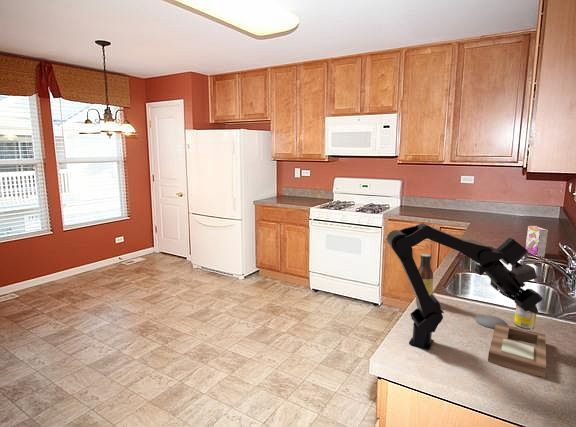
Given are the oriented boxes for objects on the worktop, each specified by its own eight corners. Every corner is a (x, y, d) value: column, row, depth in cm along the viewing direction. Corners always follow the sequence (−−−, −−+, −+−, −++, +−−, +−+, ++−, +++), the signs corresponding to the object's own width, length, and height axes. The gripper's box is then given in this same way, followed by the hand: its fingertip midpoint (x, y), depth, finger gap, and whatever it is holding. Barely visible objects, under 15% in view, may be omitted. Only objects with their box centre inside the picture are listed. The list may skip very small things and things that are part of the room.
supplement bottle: (525, 323, 118) (529, 293, 116) (538, 331, 113) (543, 301, 111) (509, 323, 118) (513, 294, 116) (521, 332, 112) (526, 301, 110)
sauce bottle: (434, 300, 150) (438, 254, 146) (428, 305, 145) (432, 258, 141) (419, 296, 154) (422, 251, 150) (412, 300, 150) (415, 255, 146)
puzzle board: (544, 378, 100) (546, 366, 99) (487, 361, 108) (488, 350, 107) (544, 343, 118) (545, 332, 117) (495, 330, 126) (496, 321, 125)
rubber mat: (505, 331, 125) (505, 330, 125) (473, 323, 130) (473, 322, 130) (507, 320, 133) (507, 319, 133) (477, 313, 138) (477, 312, 138)
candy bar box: (524, 252, 219) (527, 225, 216) (532, 252, 219) (535, 225, 215) (536, 257, 208) (540, 230, 205) (545, 257, 208) (549, 230, 204)
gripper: (540, 267, 102) (574, 305, 103) (503, 248, 120) (533, 280, 122) (508, 292, 104) (542, 329, 105) (477, 270, 122) (506, 302, 123)
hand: (530, 308), depth 114 cm, fingers closed on supplement bottle, 6 cm apart
